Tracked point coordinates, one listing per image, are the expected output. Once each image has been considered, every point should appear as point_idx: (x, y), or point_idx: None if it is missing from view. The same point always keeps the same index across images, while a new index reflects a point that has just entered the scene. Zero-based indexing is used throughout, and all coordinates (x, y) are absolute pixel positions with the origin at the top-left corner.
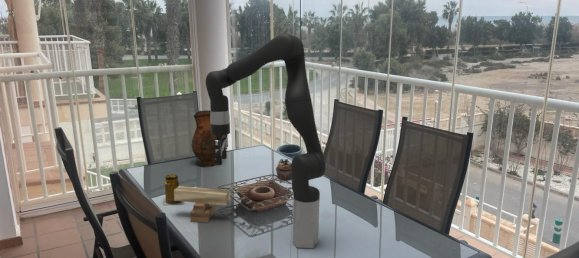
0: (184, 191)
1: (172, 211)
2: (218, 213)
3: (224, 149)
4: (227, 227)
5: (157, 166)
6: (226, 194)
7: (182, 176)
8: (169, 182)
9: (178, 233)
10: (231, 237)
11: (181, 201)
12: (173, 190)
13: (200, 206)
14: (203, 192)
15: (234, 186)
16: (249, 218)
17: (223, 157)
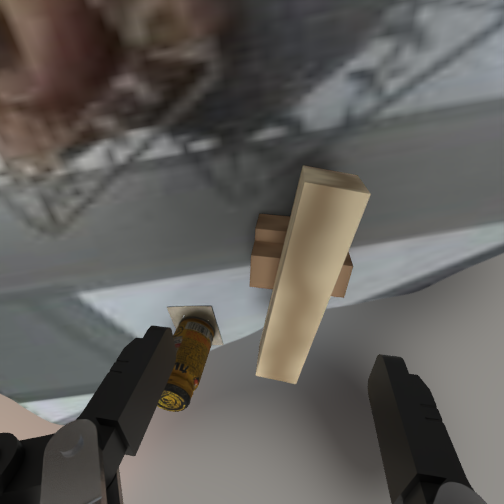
0: (305, 356)
1: (261, 321)
2: (267, 198)
3: (111, 445)
4: (395, 143)
5: (4, 384)
6: (362, 192)
7: (29, 333)
8: (192, 388)
9: (411, 287)
10: (497, 109)
11: (193, 312)
12: (200, 357)
13: (349, 274)
14: (326, 298)
15: (17, 180)
16: (314, 54)
17: (166, 356)
